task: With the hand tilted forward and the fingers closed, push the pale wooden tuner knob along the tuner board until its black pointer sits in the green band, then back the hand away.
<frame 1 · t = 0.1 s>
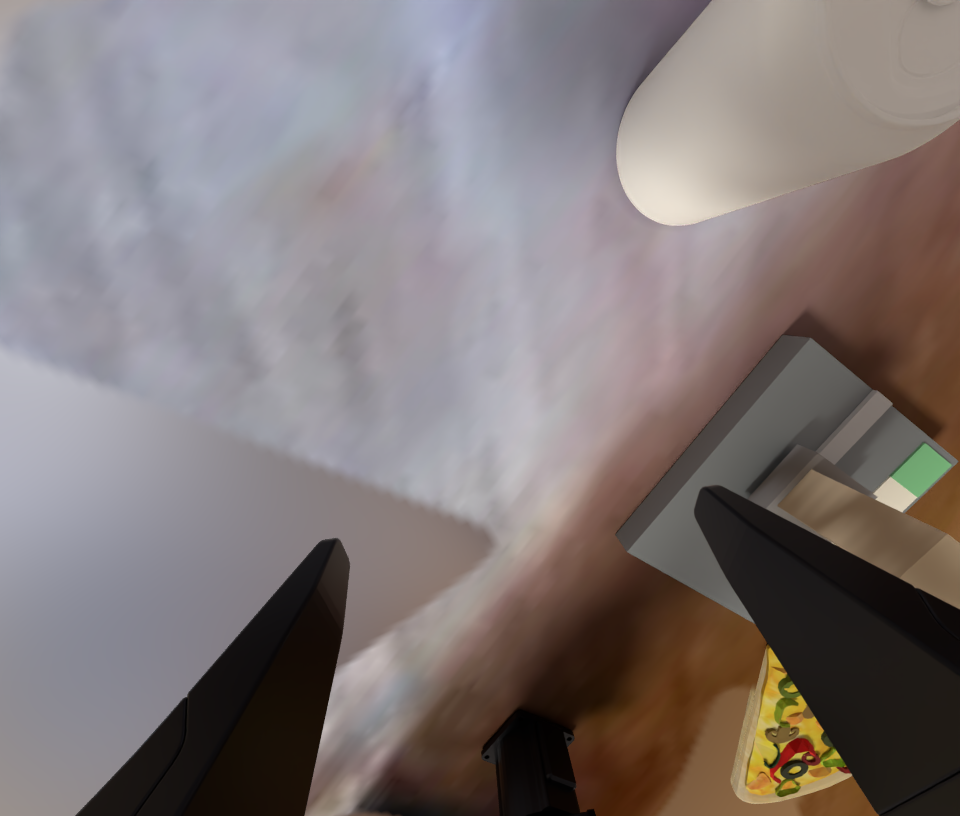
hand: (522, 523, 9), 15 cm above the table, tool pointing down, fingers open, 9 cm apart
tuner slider: (889, 548, 21), point 6 cm above the table, slide at 0.0 cm
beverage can: (678, 151, 21), on the table
pizza slice: (781, 702, 36), on the table
tuner board: (767, 492, 27), on the table
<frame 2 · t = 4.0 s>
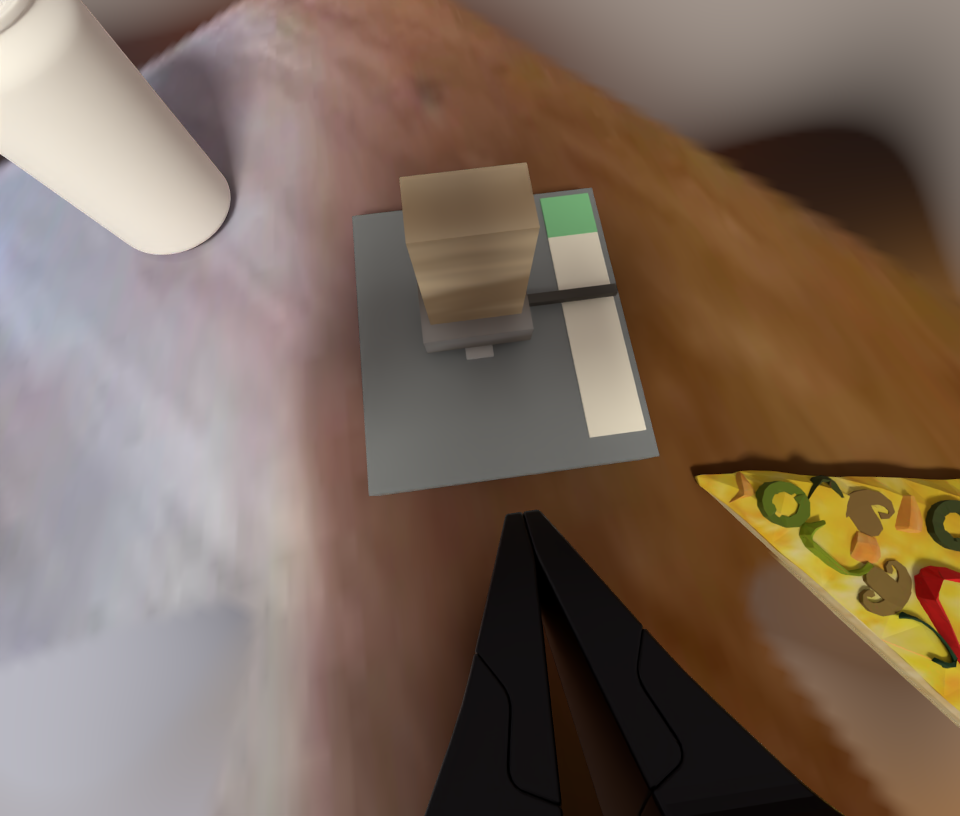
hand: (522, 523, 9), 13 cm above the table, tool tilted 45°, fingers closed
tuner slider: (527, 260, 18), point 6 cm above the table, slide at 0.0 cm
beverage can: (183, 214, 26), on the table
pizza slice: (853, 547, 21), on the table
tuner board: (491, 339, 24), on the table
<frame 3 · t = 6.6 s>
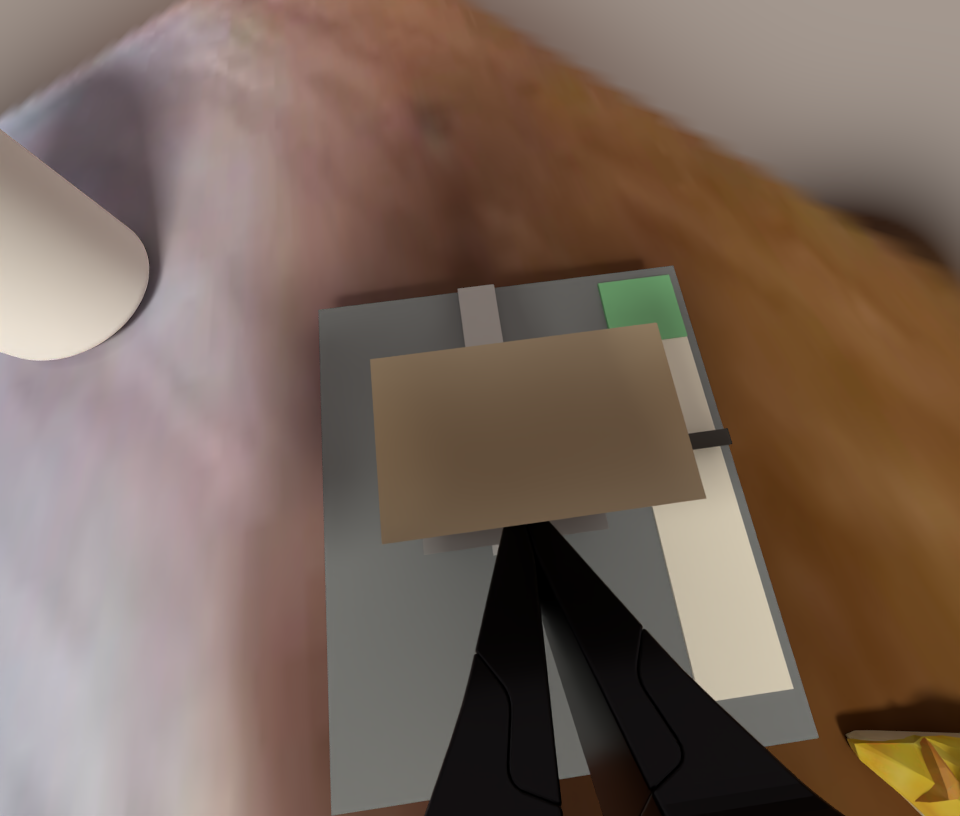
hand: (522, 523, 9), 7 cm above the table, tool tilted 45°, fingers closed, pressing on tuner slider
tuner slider: (612, 441, 10), point 6 cm above the table, slide at 0.1 cm, touching gripper
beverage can: (85, 294, 19), on the table
tuner board: (526, 493, 16), on the table
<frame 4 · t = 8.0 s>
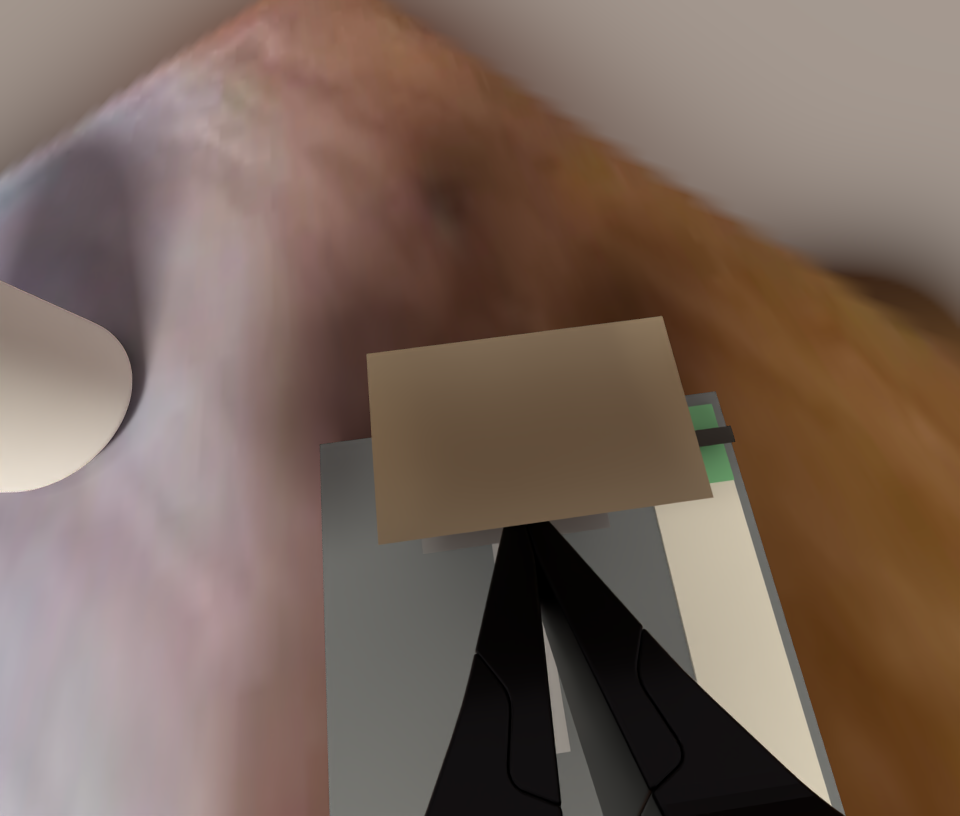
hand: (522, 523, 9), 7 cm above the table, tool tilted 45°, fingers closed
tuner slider: (614, 438, 10), point 6 cm above the table, slide at 6.2 cm
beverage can: (62, 404, 17), on the table
tuner board: (551, 649, 14), on the table
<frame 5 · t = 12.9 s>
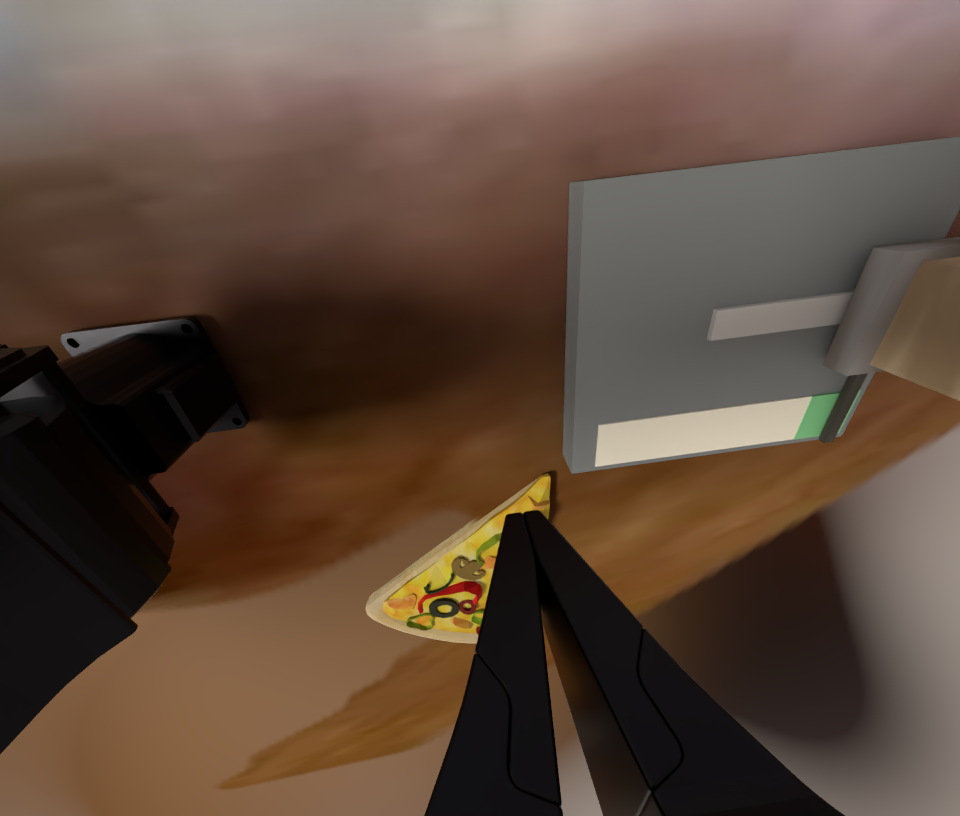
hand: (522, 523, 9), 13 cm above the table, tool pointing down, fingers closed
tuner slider: (952, 388, 17), point 6 cm above the table, slide at 6.2 cm
pizza slice: (486, 551, 31), on the table
tuner board: (717, 325, 21), on the table
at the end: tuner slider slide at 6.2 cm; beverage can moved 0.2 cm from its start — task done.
